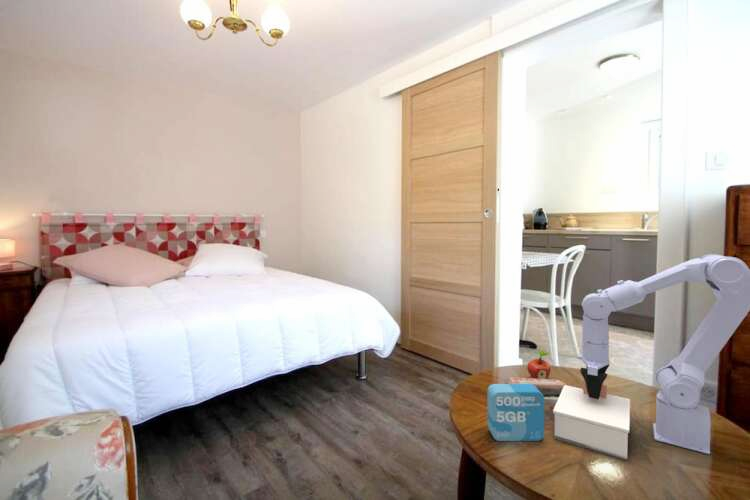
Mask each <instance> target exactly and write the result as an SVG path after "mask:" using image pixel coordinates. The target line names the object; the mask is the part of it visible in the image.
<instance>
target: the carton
mask: <svg viewBox="0 0 750 500" xmlns="http://www.w3.org/2000/svg"><path fill="white" fill-rule="evenodd" d="M554 439H555V440H558V441H561V442H565V443H568V444H571V445H574V444H575V445H574V446H578V447H581V446H582V447H581V448H584V447H585V448H584V449H587V448H588V450H591V451H595V452H598V453H601V454H605V455H607V456H611V457H614V458H618V459H622V460H624V461H628V445H629V433H627V432H623V431H619V430H616V429H612V428H608V427H604V426H600V425H597V424H593V423H589V422H585V421H581V420H578V419H574V418H570V417H566V416H562V415H559V414H555V413H554Z"/></svg>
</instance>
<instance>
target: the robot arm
mask: <svg viewBox="0 0 750 500" xmlns="http://www.w3.org/2000/svg"><path fill="white" fill-rule="evenodd" d="M684 282H691V283H700V284H702V283H703V284H707V285H709V287H710V289H711V290H712V292H713V294H714V296H715V297H716V301H715V302H714V304H713V305H712V307H711V308H710V310H709V311H708V313H707V314H706V316H705V317H704V318H703V320H702V322H701V323H700V324H699V326H698V327H697V329H696V330H695V332H694V333H693V335H692V336H691V337H690V339H689V340H688V342H687V343H686V345H685V346H684V347H683V349H682V350H681V352H680V354H679V355H678V356H677V357H675V358H673V359H671V360H670V362H669V363H668V364H667V365H666V366H663V367H660V369H658V370H657V372H656V374H655V381H656V383H657V384H658V386H659V388H660V389H659V391H658V392H657V393H656V405H655V406H656V408H655V409H656V411H655V416H656V417H655V422H654V423H653V422H652V426H653V437H654V440H656V441H658V442H662V443H666V444H668V445H673V446H677V447H681V448H685V449H687V450H692V451H695V452H700V453H704V454H706V455H710V454H711V438H712V437H711V414H710V413H711V412H710V408H709V407H707V406H705V405H700V404H698V403H699V402H700V400H701V390H702V388H703V387H704V386H705V375H706V372H707V371H708V369H709V368H710V366H711V364H712V363H713V362H714V361H715V359H716V358H717V356H718V355H719V354H720V352H721V351H722V350H723V348H724V347H725V345H726V344H727V343H728V341H729V339H730V338H731V337H732V336H733V334H734V333H735V332H736V330H737V329H738V327H739V326H740V324H741V323H742V321H743V320H744V319H745V318H746V316H747V315H748V313H749V312H750V268H749V267H748V265H747V264H746V263H745V262H744V261H743V260H742V259H740V258H738V257H733V256H727V255H726V256H724V255H722V254H718V253H710V254H705V255H702V256H701V257H698V258H697V257H696V258H692V259H689V260H687V261H684V262H682V263H679V264H676V265H675V266H672V267H670V268H668V269H665V270H664V271H660V272H659V273H656V274H654V275H652V276H649V277H647V278H644V279H643V280H640V281H635V280H634V281H633V280H630V279H628V280H625V281H624V280H623V279H620V280H618V281H617V282H616V283H617V284H616V285H613V286H610V287H608V288H605V289H603V290H602V288H600V289H597V290H596V291H597V292H596V293H594V292H593V293H589V294H587V295H585V296H584V298H583V299H582V302H581V308H582V311H583V316H582V320H583V321H582V322H581V323H582V325H581V328H582V331H581V332H582V333H581V334H582V336H581V337H582V338H581V339H582V340H581V341H582V343H581V344H582V345H581V346H582V347H581V349H582V350H581V352H582V353H581V354H577V355H576V359H578V360H581V361H582V362H583V364H584V365H585V367H580V370H579V372H580V374H581V376H582V378H583V380H584V381H585V383H586V387H587V392H588V396H589V397H590V398H594V399H599V397H600V392H601V387H602V385H603V384H604V382H605V380H606V379H607V378H608V373H607V372H606V371H607V370H608V368H609V367H610V361H611V360H610V358H609V357H610V356H609V354H610V350H609V347H610V346H609V345H610V344H609V343H610V342H609V340H610V339H609V338H610V325H609V316H610V315H611V313H612V312H618V311H621V310H623V309H626V308H629V307H632V306H635V305H637V304H640V303H642V302H644V300H645V298H646V295H649V294H651V293H654V292H657V291H660V290H664V289H667V288H669V287H673V286H675V285H678V284H681V283H684Z"/></svg>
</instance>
